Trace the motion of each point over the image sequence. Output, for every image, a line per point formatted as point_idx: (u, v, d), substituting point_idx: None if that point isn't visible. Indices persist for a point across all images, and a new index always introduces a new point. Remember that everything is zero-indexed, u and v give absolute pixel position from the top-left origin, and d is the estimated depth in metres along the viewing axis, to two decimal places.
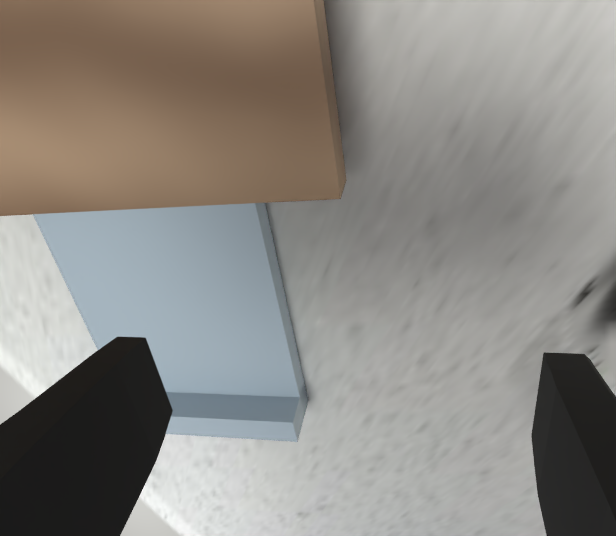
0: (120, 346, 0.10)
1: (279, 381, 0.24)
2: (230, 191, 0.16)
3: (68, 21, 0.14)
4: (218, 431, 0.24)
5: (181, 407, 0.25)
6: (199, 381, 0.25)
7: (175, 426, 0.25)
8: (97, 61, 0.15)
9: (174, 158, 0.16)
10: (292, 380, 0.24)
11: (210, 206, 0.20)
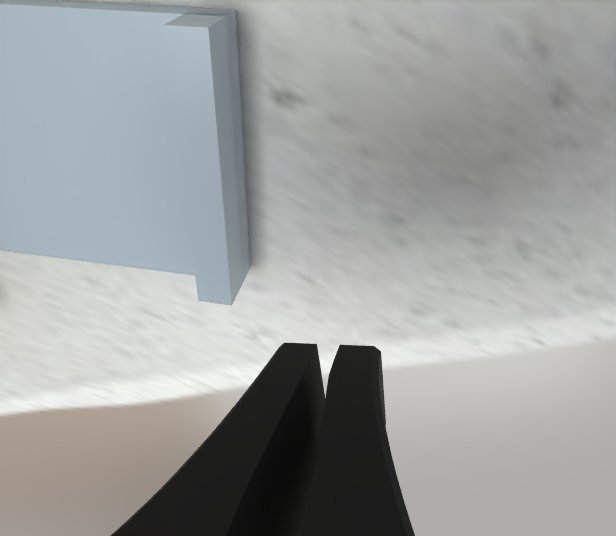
0: (296, 353, 0.09)
1: (155, 40, 0.16)
2: None
3: None
4: (206, 156, 0.16)
5: None
6: (177, 163, 0.18)
7: (207, 217, 0.17)
8: None
9: None
10: (149, 17, 0.16)
11: None
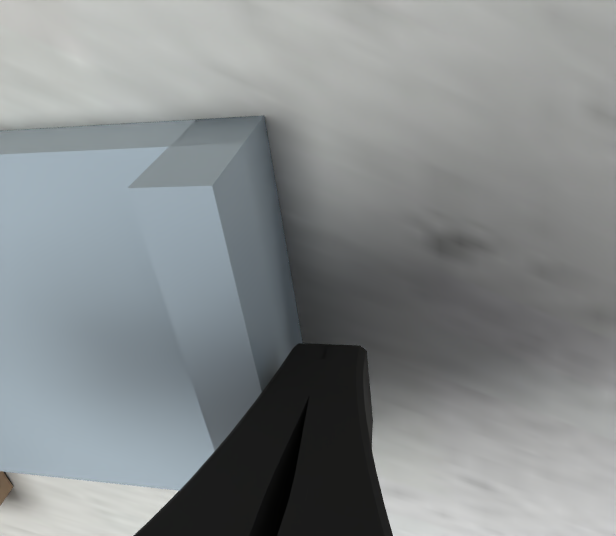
0: (310, 354, 0.09)
1: (127, 192, 0.09)
2: None
3: None
4: (236, 382, 0.09)
5: None
6: None
7: None
8: None
9: None
10: (111, 156, 0.09)
11: None
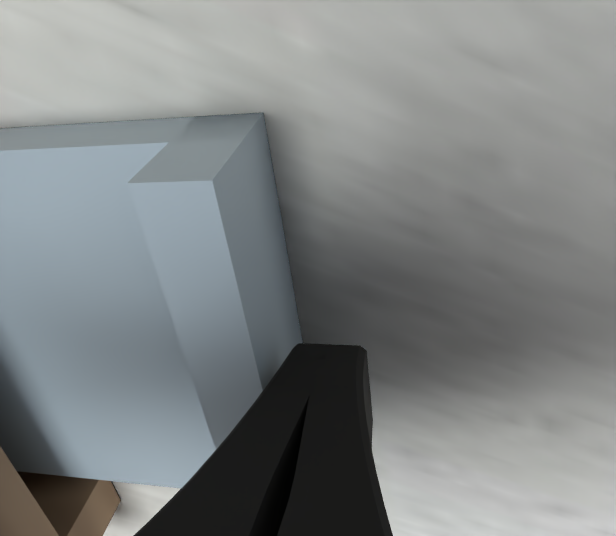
0: (310, 354, 0.09)
1: (127, 188, 0.09)
2: None
3: None
4: (237, 378, 0.09)
5: None
6: None
7: None
8: None
9: None
10: (110, 152, 0.09)
11: None
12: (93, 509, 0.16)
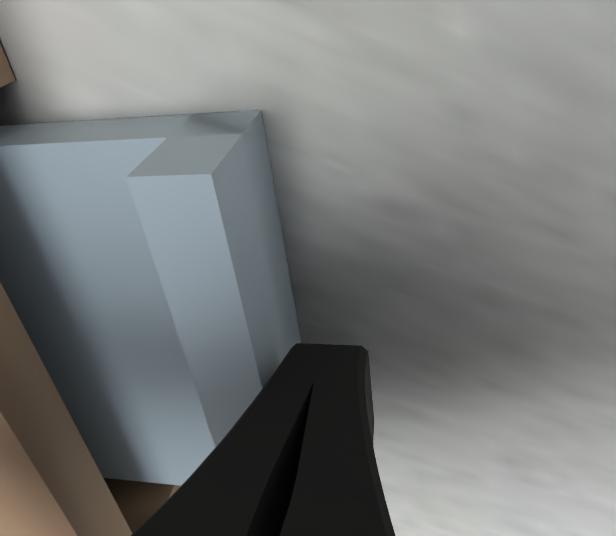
0: (308, 354, 0.09)
1: (127, 183, 0.09)
2: None
3: None
4: (236, 373, 0.09)
5: None
6: None
7: None
8: None
9: None
10: (110, 148, 0.09)
11: None
12: None
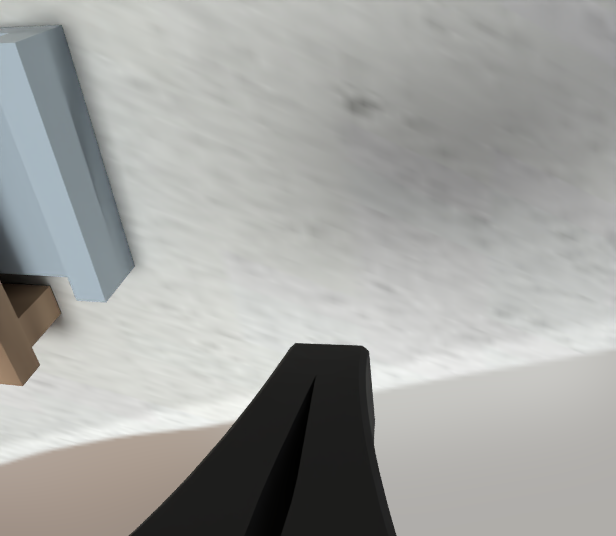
0: (307, 354, 0.09)
1: None
2: None
3: None
4: (45, 162, 0.17)
5: None
6: None
7: (62, 219, 0.18)
8: None
9: None
10: None
11: None
12: (40, 309, 0.23)
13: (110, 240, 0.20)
